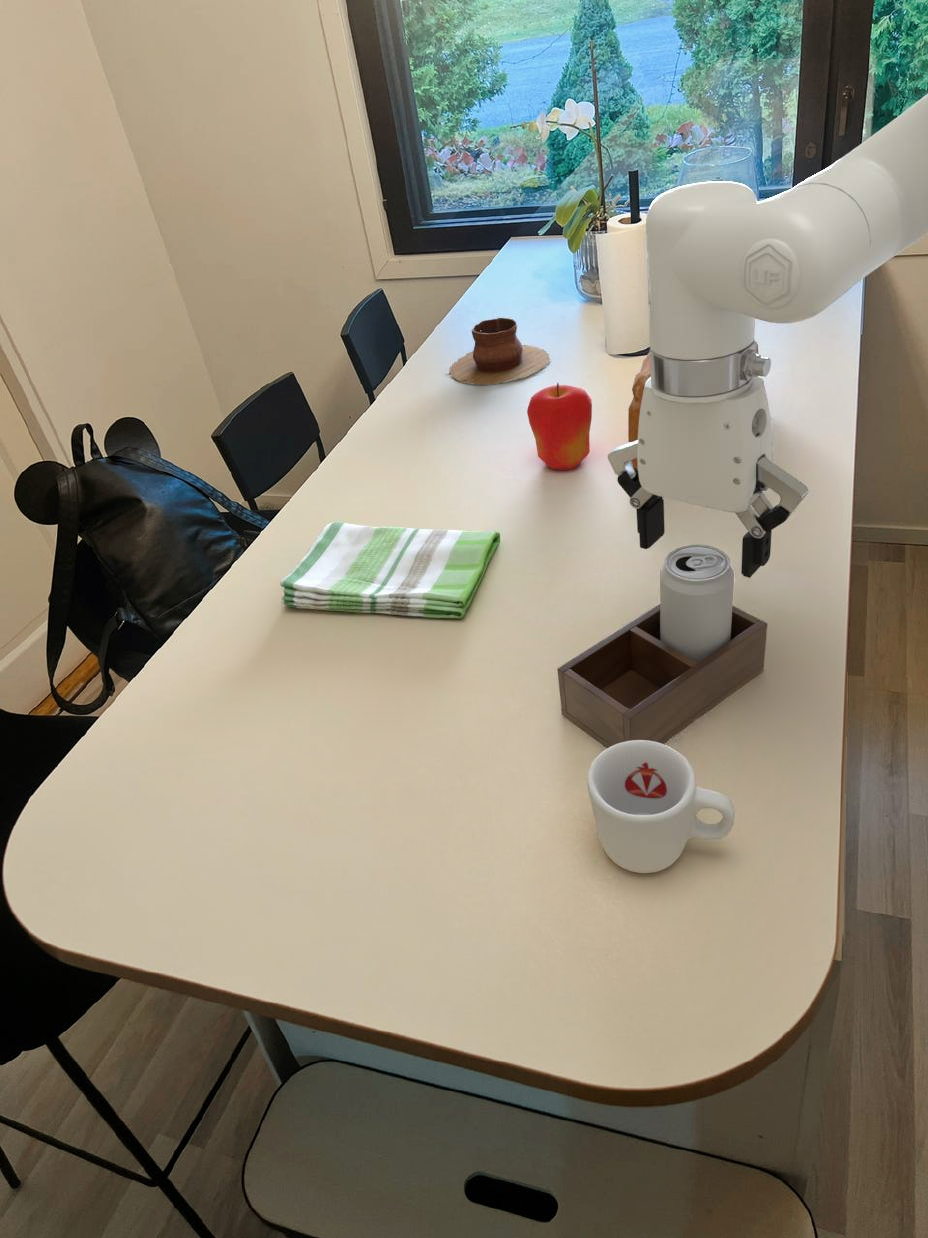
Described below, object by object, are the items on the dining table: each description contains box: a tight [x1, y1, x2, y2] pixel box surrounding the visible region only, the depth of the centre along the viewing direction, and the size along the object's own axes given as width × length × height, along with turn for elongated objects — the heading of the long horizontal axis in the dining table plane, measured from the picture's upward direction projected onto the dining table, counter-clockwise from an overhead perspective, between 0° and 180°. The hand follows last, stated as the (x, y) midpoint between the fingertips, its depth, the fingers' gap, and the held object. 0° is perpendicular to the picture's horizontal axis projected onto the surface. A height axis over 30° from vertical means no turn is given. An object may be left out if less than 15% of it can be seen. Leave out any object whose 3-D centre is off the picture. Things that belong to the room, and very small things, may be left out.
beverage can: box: [659, 544, 735, 663], centre depth 80 cm, size 6×6×12 cm
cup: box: [586, 740, 735, 874], centre depth 67 cm, size 11×8×8 cm
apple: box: [526, 382, 593, 471], centre depth 118 cm, size 9×8×12 cm
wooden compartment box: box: [556, 603, 768, 749], centre depth 81 cm, size 9×18×6 cm, turn 127°
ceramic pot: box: [448, 317, 551, 386], centre depth 152 cm, size 18×18×7 cm
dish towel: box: [279, 521, 501, 619], centre depth 105 cm, size 17×23×4 cm
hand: (701, 554), depth 76 cm, fingers open, 9 cm apart
